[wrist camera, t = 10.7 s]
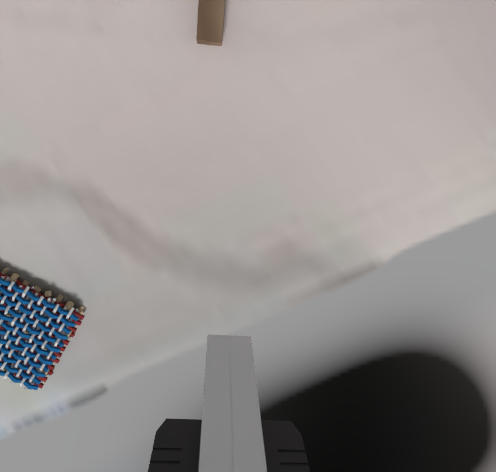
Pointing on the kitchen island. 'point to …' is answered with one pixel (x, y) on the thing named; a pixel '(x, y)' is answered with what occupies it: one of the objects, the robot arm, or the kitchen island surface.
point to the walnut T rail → (210, 22)
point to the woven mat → (32, 330)
